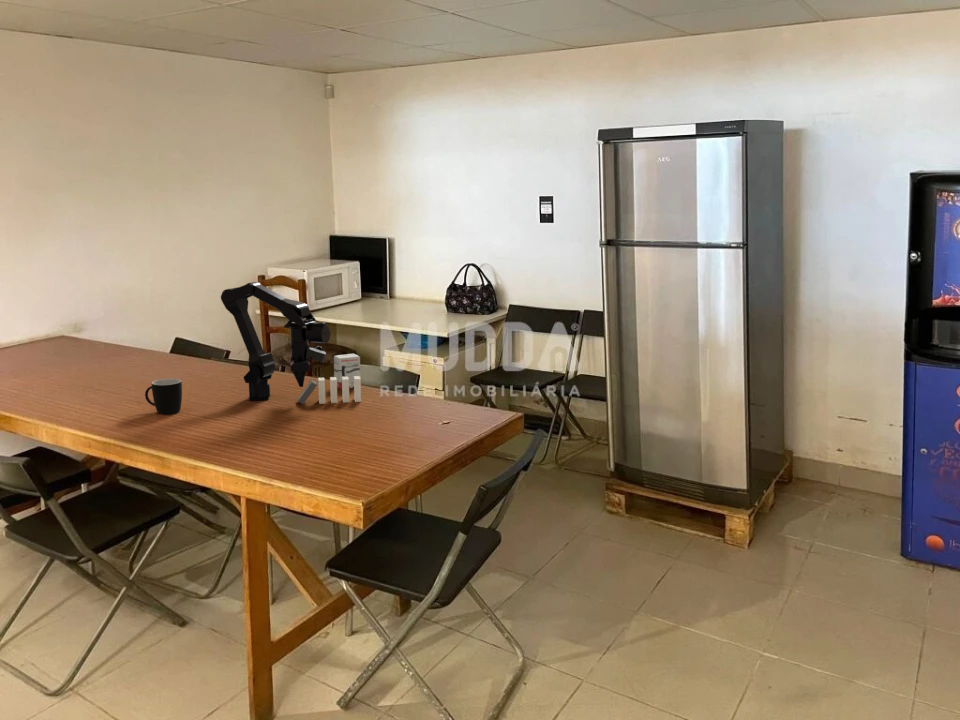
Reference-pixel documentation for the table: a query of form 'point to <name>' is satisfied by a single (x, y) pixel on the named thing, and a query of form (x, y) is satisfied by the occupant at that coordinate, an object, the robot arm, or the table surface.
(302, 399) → the domino
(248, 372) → the robot arm
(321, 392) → the domino
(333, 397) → the domino
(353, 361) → the ink box
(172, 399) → the mug
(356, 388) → the domino
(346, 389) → the domino
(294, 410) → the table surface
